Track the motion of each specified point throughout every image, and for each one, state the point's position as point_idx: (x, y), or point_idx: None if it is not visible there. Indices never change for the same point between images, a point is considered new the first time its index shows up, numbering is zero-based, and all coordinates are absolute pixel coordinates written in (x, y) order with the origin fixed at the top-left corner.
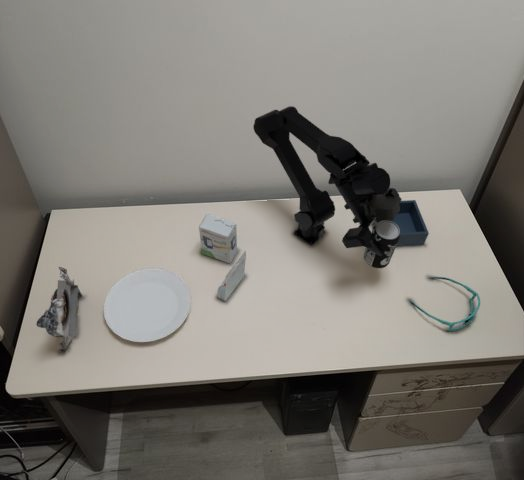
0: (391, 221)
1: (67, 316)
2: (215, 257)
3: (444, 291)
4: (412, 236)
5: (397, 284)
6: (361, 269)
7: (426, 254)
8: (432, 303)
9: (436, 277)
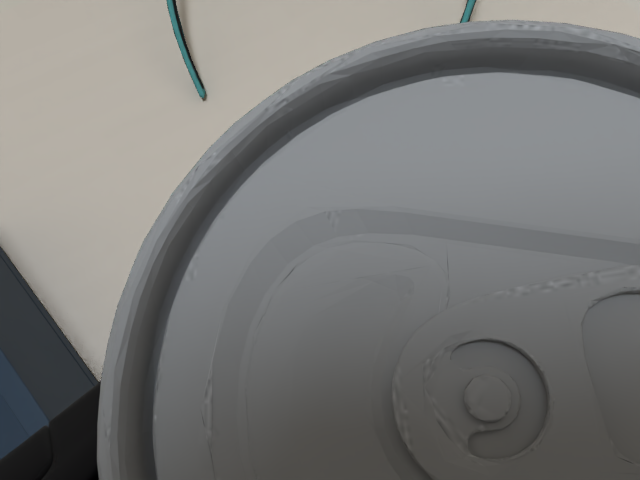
0: (23, 472)
1: None
2: None
3: (240, 2)
4: None
5: None
6: None
7: (48, 185)
8: (353, 13)
9: (188, 55)
